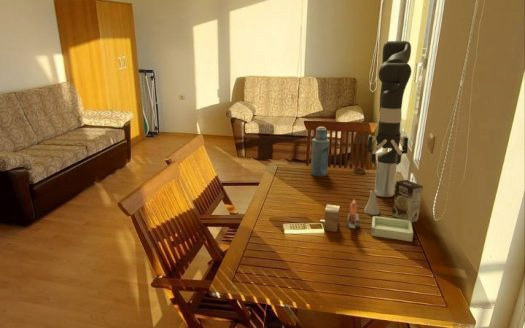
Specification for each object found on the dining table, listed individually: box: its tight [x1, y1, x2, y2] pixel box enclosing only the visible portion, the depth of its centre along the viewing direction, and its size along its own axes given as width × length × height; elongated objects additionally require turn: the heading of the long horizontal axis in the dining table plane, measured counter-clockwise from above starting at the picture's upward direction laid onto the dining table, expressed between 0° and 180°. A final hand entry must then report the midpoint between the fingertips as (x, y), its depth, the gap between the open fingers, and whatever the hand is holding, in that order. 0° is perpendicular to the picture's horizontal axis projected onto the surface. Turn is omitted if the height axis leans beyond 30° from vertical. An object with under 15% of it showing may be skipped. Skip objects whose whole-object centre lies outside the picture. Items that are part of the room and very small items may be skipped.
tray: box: [370, 215, 414, 242], centre depth 145 cm, size 12×15×3 cm
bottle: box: [310, 126, 330, 178], centre depth 208 cm, size 10×10×30 cm
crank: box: [347, 199, 360, 229], centre depth 145 cm, size 12×4×11 cm, turn 162°
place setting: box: [347, 160, 366, 175], centre depth 219 cm, size 18×20×6 cm
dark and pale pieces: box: [319, 219, 360, 229], centre depth 152 cm, size 6×16×5 cm, turn 72°
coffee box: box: [391, 179, 424, 223], centre depth 156 cm, size 9×6×16 cm
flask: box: [363, 190, 381, 216], centre depth 163 cm, size 7×7×10 cm
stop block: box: [323, 204, 341, 233], centre depth 147 cm, size 5×5×9 cm
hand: (385, 163), depth 136 cm, fingers open, 8 cm apart
